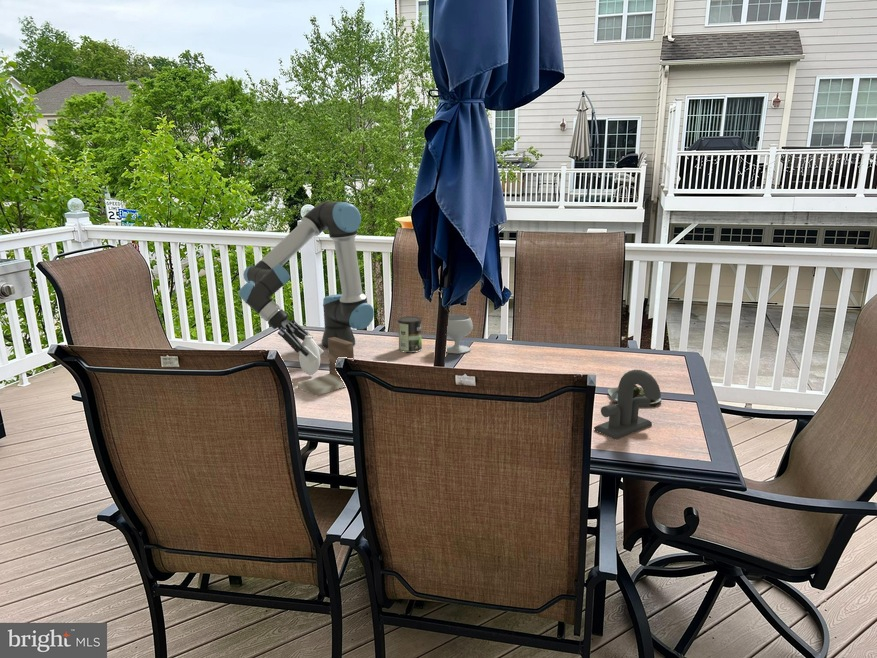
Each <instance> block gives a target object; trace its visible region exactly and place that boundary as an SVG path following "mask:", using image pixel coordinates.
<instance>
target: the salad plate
mask: <svg viewBox="0 0 877 658" xmlns="http://www.w3.org/2000/svg"><path fill="white" fill-rule="evenodd" d="M618 388H619V385H617V386H616V387H612V388H608V390H607V393H608V395H609V400H610V401H611V402H614V403H615V404H617V401H618ZM635 397H646V396H645V392H644V390H643V388H642V387H641V386H638V385H637V384H636V385H635V386H634V388H633V398H635ZM650 402H651V403H650V407H649V408H653V407H657V406H659V405H660V404H661V402H662V397H661V398H660V399H658V400H651V399H650Z"/></svg>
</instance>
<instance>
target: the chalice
mask: <svg viewBox="0 0 877 658" xmlns="http://www.w3.org/2000/svg"><path fill="white" fill-rule="evenodd" d="M448 315H449V318H448V326H447V335H446V336H447V337H449V338H451V339H452V340H453V341H454V345H453V344H451V345H447V346H446V347H447V352H446V353H448V354H456V355H457V354H466V353H469V352H471V349H472V348H470V347H469V346H467V345H460V340H462V338H465V337H466V336H468V335H469V334H471V333H472V331H473V328H474V326H473V324H474V323H473V321H472V318H471V316H469V315H467V314H463V313H462V314H461V313H452V314H448Z"/></svg>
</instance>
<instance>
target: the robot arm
mask: <svg viewBox="0 0 877 658" xmlns="http://www.w3.org/2000/svg"><path fill="white" fill-rule="evenodd" d="M300 221H301V222H300V223H299V224H297V226H296V227H295V228H294V229H293V230H292V231H290V232H289V233H288V234H287V235H286V236H285V237H284V238H283V239H282V240H281V241H280V242H279V243H278V244H276V245H275V246H274V247H273V248H272V249H271V250H270V251H269V252H267V254H266V255H265V256H264V257H263V258H261V259H260V260H259V261H258V262H257V263H256V264H255V265H250V266H247V267H246V268H245V269H244V270H243V279H244V281H245V282H246V283H245V284H244V285H243V286H242V287H241V288H240V289H239V291H238V297H240V298H241V299H242V301H243V302H244V303H245V304H246V305H247V306H249V307H250V308H251V309H252V310H254V312H255V313H256V314H257V315H259V316H260V318H261V319H263V320H264V321H265V322H267V325H269V326H270V327H271V329H273V330H276V329H277V328H278V330H279V331H278V332H277V334H278V335H279V336H280V337H281V338H282V339H283V340H284V341H285V342H286V343H287V345H289V346H290V347H291V348H292V349H293V350H294V351H295V352H296V353H300V352H301V353H302V354H303V355H304V356H306V357H307V358H308V359H309V360H310V361H311V362H312V363H313V362H314V361H315V360H316V359H317V357H316V356H315V355H314V354H313V353H312V352H311V351H310V350H309V349H308V348H307V347H306V346H303V345H302V342H303V341H304V339H305V336H307V335H308V331H306V330H305V329H304V328H303V327H302V326H301V325H299V323H297V322H296V320H294V319H293V320H289V319H288V317H289V315H288V313H287V312H286V311H285V310H283V309H282V308H281V306H279V305H278V304H277V303H276V302H275V301H274V300H273V299H272V298H271V297H272V296H273V295H275V294H276V292H278V291H279V290H280V289H281V288H283V287H284V286H285V285H286V283H287V282H288V281H289V280H290V278H291V277H290V274H289V272H288V270H287V269H286V268H285V267H284V265H285V264H286V263H287V262H288V261H289V260H290V259H292V257H294V256H295V255H296V254H297V253H298V252H299V251H300V250H301V249H302V248H303V247H304V246H305V245H307V243H308V242H309V241H311V239H312V238H314V237H315V236H316V237H318V236H319V235H320V234H321V233H322V232H325V231H327V230H328V237H329V238H330V239H331V240H333V244H334V249H335V256H336V262H337V263H336V264H337V269H338V276H339V281H340V288H341V293H338V294H332V295H331V294H330V295H326V296H324V297H323V303H322V306H323V321H324V322H323V323H324V324H323V325H324V330H323V334H322V339H321V347H322V348H321V347H320V346H319V345H318V344H317V343H316V345H317V347H318V349H319V353H320V356H321V355H322V354H323V353H324V350H323V348H324V349H328V338H331V337H336V338H339V339H342V340H345V341H348V342H351V343H353V347H354V346H355V345H356V338H355V335H354V333H353V330H352V329H354V330H363V329H366V328H367V327H369V326H370V325H371V324H372V322H373V320H374V317H375V311H374V308H373V306H372V305H371V304H370V303H368V296H367V295H366V294H365V293H364V292H363V288H362V287H363V286H362V280H361V279H362V278H361V274H360V273H361V272H360V267H359V259H358V253H357V247H356V245H357V244H356V240H355V239H356V237H357V235H358V229H359V228H360V225H361V224H362V223H361V222H362V216H361V212H360V211H359V209H358V208H357V207H356V206H355V205H354V204H352V203H349V202H346V201H329V200H327V201H324V202H323V201H322V202H321V203H319V204H317V205H315V206H314V207H313V208H312V209H310V210H309V211H308V212H306V213H305V215H304V216H303V217H301V219H300ZM309 335H310V336H312V335H311V334H310V333H309ZM312 339H313V340H314V337H313V336H312ZM300 340H301V341H302V342H301V341H300Z"/></svg>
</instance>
